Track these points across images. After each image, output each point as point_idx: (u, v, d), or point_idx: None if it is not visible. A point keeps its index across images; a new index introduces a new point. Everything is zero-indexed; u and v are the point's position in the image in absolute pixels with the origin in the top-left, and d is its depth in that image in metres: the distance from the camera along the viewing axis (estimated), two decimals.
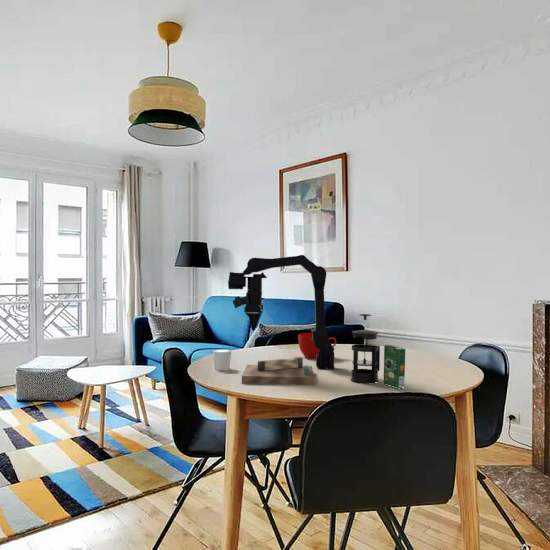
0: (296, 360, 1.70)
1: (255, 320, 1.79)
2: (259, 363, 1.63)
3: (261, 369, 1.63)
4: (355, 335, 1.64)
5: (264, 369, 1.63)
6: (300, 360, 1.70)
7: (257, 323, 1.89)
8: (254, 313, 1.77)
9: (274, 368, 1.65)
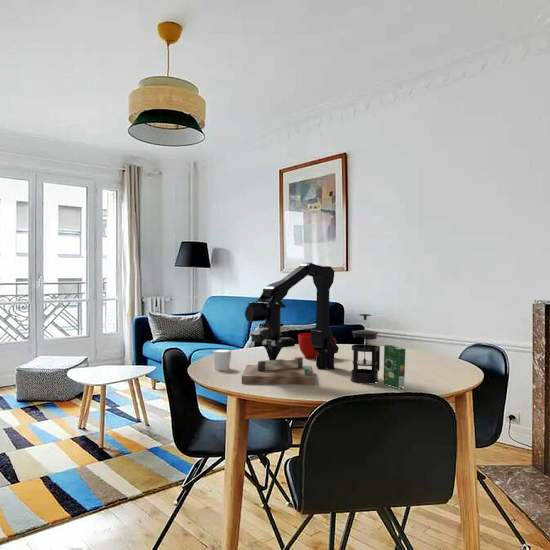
0: (296, 360, 1.69)
1: (276, 352, 1.68)
2: (259, 363, 1.63)
3: (261, 369, 1.63)
4: (355, 335, 1.64)
5: (264, 369, 1.63)
6: (300, 360, 1.70)
7: None
8: None
9: (274, 368, 1.65)
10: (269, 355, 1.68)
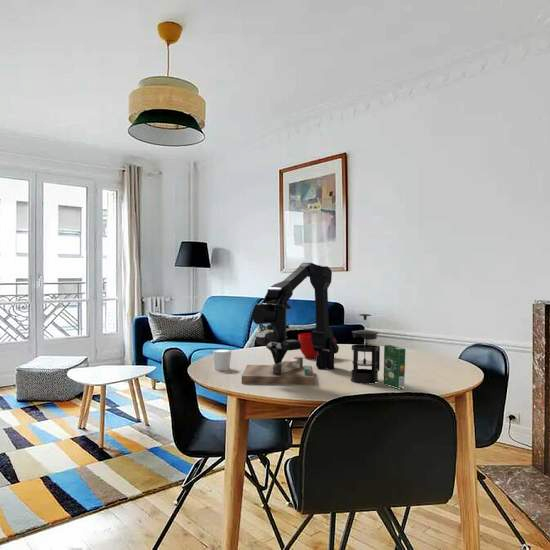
0: (299, 360, 1.69)
1: (282, 355, 1.63)
2: (277, 366, 1.57)
3: (279, 372, 1.57)
4: (355, 335, 1.64)
5: (281, 372, 1.58)
6: (302, 360, 1.70)
7: None
8: None
9: (286, 370, 1.62)
10: (274, 358, 1.63)
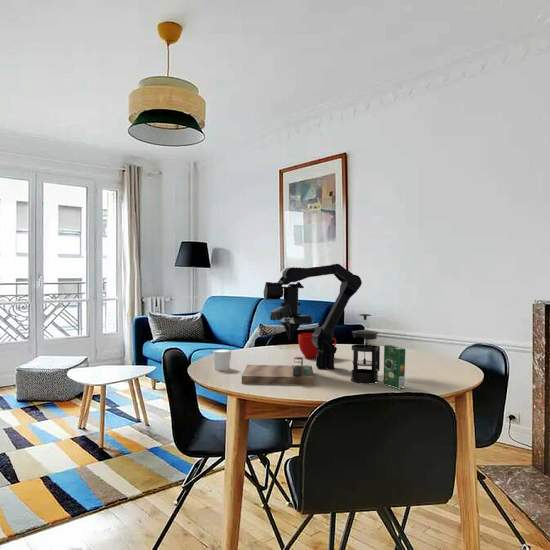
0: (301, 360, 1.70)
1: (294, 330, 1.80)
2: (299, 368, 1.55)
3: (300, 374, 1.56)
4: (355, 335, 1.64)
5: None
6: (302, 359, 1.71)
7: None
8: None
9: None
10: (287, 332, 1.80)
